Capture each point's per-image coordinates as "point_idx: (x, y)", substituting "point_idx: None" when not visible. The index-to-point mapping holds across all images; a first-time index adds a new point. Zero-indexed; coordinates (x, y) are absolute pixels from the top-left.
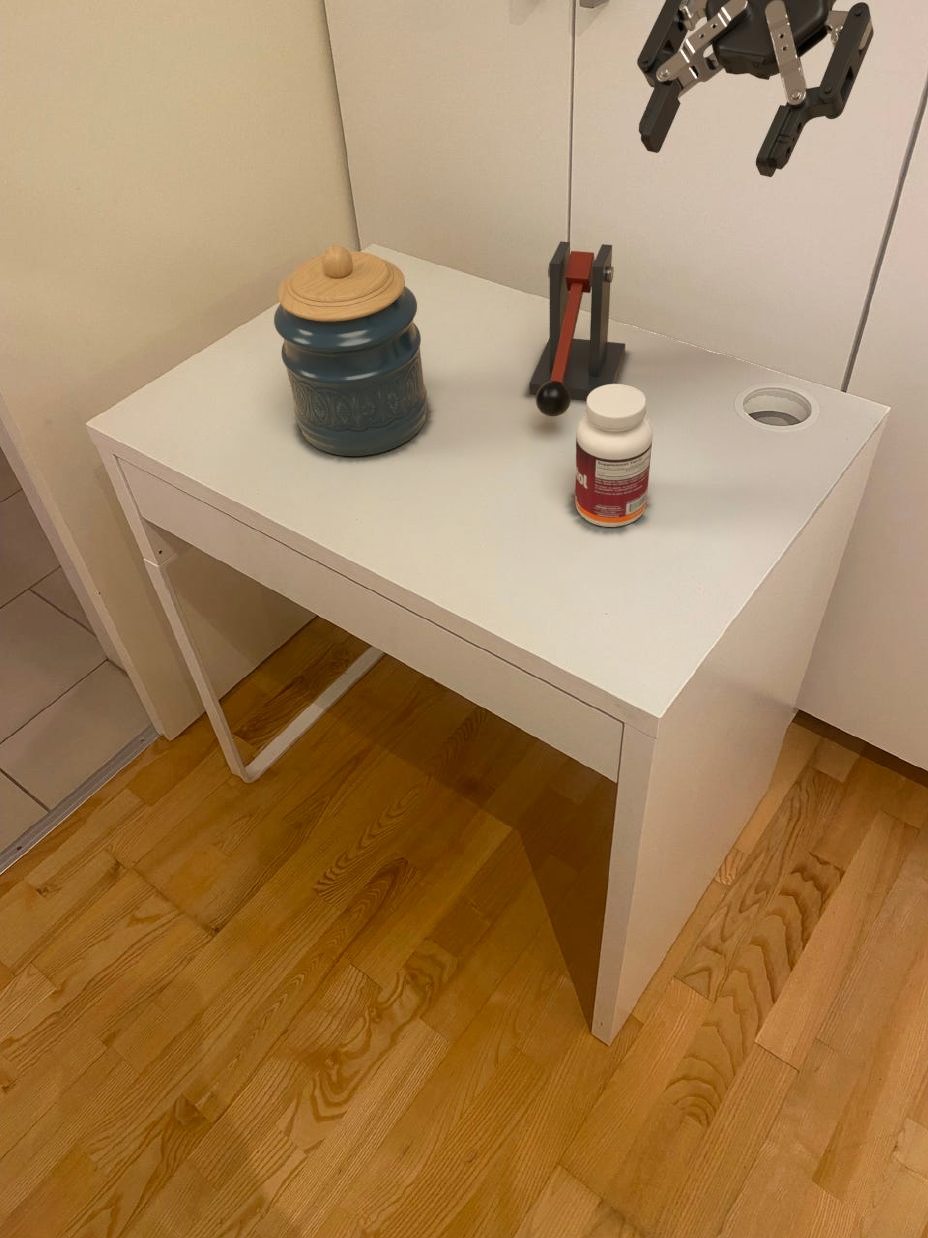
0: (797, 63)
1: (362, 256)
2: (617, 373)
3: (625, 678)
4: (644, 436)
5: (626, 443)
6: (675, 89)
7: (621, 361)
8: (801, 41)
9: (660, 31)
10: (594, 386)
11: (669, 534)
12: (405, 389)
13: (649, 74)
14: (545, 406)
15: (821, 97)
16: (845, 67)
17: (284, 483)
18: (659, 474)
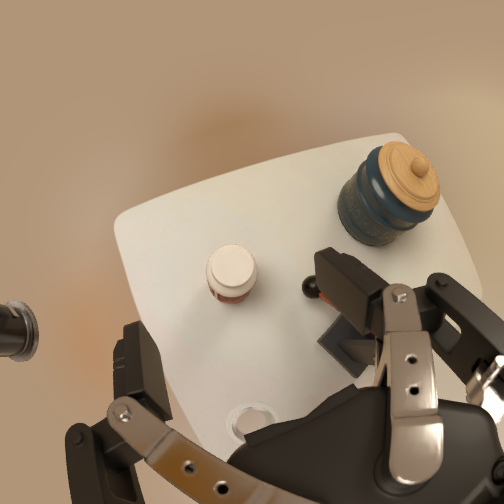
0: (146, 457)
1: (429, 190)
2: (337, 360)
3: (130, 216)
4: (209, 278)
5: (209, 263)
6: (374, 320)
7: (346, 369)
8: None
9: (475, 314)
10: (329, 336)
11: (190, 296)
12: (355, 209)
13: (419, 289)
14: (307, 277)
15: (82, 424)
16: (70, 478)
17: (335, 161)
18: (238, 325)
